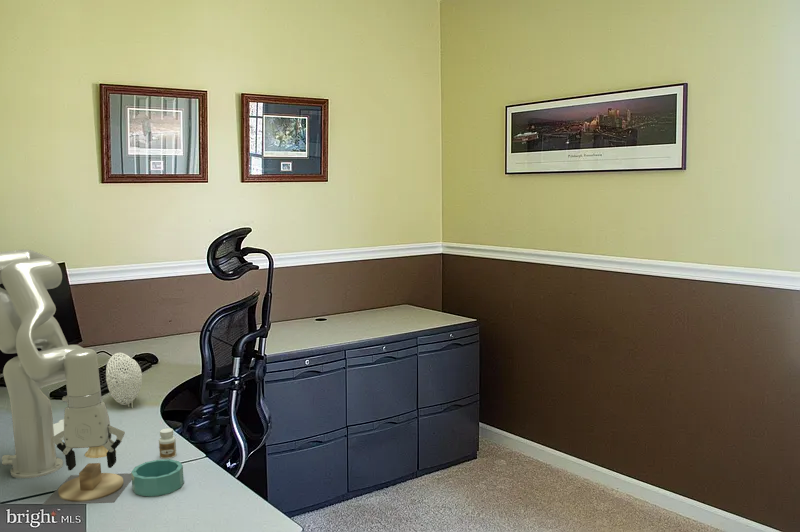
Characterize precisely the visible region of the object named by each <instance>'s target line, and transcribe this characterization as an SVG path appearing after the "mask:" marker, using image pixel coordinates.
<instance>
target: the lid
mask: <svg viewBox="0 0 800 532" xmlns="http://www.w3.org/2000/svg"><path fill="white" fill-rule="evenodd" d="M117 474H118V473H111V472H102V467H101V462H90V463H89V462H88V463H87V464H86V465H85V466H84V467H83V468H82V470H80V471H79V473H78V475H79V477H77V478H74V479H72V480H70V481H68V482H66V483H64V482H63V483H64V484H63V483H62V484H63V485H62V484H61V485H62V486H61V485H60V486H61V487H60V486H59V487H60V488H59V487H58V488H59V490H58V494H59V497H60V498H61V499H63V500H66V501H73V502H82V501H91V500H96V499H100V498H103V497H106V496H109V495H111V494H113V493H115V492H117V491H118V490H120V489H121V488H122V486H123V484H124V483H123V478H122V477H121V476H119V475H117Z"/></svg>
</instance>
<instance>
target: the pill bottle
mask: <svg viewBox="0 0 800 532" xmlns="http://www.w3.org/2000/svg"><path fill="white" fill-rule="evenodd" d="M159 436H160V437H159V439H158V446H159V447H158V448H159V458H160V459H161V460H162V459H173V458H175V457H176V456H177V444H176V441H177V440H176V437H175V436H174V429H173V428H170V427H169V428H168V427H167V428H162V429H161V430H160V431H159Z"/></svg>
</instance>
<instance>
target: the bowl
mask: <svg viewBox="0 0 800 532" xmlns="http://www.w3.org/2000/svg"><path fill="white" fill-rule="evenodd" d="M130 473H131V477H132V480H131V488H132V491H133V492H134V494H135V495H139V496H142V497H159V496H163V495H164V496H165V495H168V494H171V493H174V492H176V491H177V490H179V489H180V488H182V487H183V484H184V482H185V481H184V479H185V477H184V465H183V464H182V463H181V461H180V460H175V459H172V458H169V459H162V458H161V459H155V460H149V461H145V462H143V463H140V464H138V465H136V466H135V467H134V468H133V469H132V470H131V471H130Z"/></svg>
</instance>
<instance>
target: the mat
mask: <svg viewBox="0 0 800 532" xmlns="http://www.w3.org/2000/svg"><path fill="white" fill-rule="evenodd" d="M116 474H117V475H119V476H121V477H122V478H123V483H124V484H123V486H122V488H121V489H120V490H118V491H117V492H115V493H113V494H111V495H109V496H106V497H103V498H100V499H96V500H91V501H82V502H73V501H66V500H63V499H61V498H60V497H59V494H58V490H59V488H60V487H61V486H62V485H63V484H64V483H66V482H68V481H70V480H72V479H74V478H77V477H79V474H73V475H71V474H70V476H69V477H67V478H66V480H65V481H64V482H63V483H62V484H60V486H59V487H58V488H56V490H55V491H53V493H51V495H49V497H48V498H46V500H45V501H44V502H43V503H42V504H41V505H42V506H49V505H51V506H53V505H56V506H57V505H81V504H107V503H109V504H110V503H111V504H112V503H115V502H116V501H117V500H118V498H119V497H120V496H121V494H123V492H124V491H125V489H126V488H127V487H128V485H130V483H132V477H131V472H128V473H116Z"/></svg>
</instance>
